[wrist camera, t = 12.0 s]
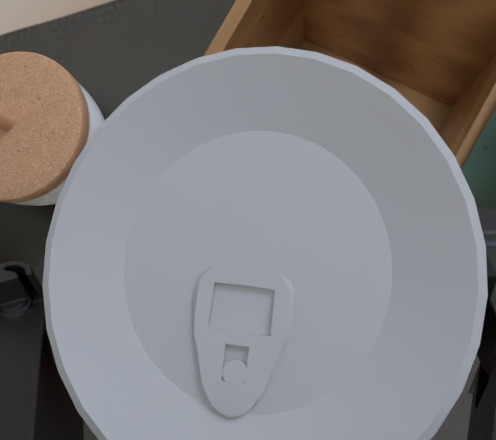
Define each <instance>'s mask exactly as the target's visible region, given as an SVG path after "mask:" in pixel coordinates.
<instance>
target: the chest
mask: <svg viewBox="0 0 496 440" xmlns="http://www.w3.org/2000/svg"><path fill="white" fill-rule="evenodd" d="M272 46H278V47H285V48H292V49H299V50H306V51H313V52H318V53H321V54H324V55H327V56H330V57H333V58H335V59H338V60H341V61H344V62H347V63H349V64H352V65H355V66H358V67H359V68H361V69H363V70H364V71H366V72H368V73H369V74H371V75H373V76H374V77H376V78H378V79H379V80H381V81H383V82H384V83H386V84H388V85H389V86H391V87H393V88H394V89H395V90H396V91H398V92H399V93H400V94H401V95H402V96H403V97H404V98H405V99H406V100H407V101H409V102H410V103H411V104H412V105H413V106H414V107H415V108H416V109H417V110H418V111H419V112H421V113H422V114H423V115H424V116H425V117H426V118H427V119H428V120H429V122H430V123H431V124H432V126H433V127H434V128H435V130H436V131H437V133H438V134H439V135H440V137H441V138H442V139H443V141H444V142H445V144H446V145H447V146H448V148H449V149H450V150H451V152H452V153H453V154H454V156H455V158H456V160H457V162H458V164H459V167H460V169H461V170H462V168H463V166H464V165H465V163H466V161H467V159H468V157H469V156H470V154H471V152H472V150H473V148H474V146H475V145H476V143H477V141H478V139H479V137H480V136H481V134H482V132H483V130H484V128H485V126H486V125H487V123H488V121H489V119H490V117H491V116H492V114H493V112H494V110H495V108H496V0H236V2H235V3H234V5H233V7H232V8H231V10H230V12H229V13H228V15H227V17H226V19H225V20H224V22H223V24H222V25H221V27H220V29H219V31H218V32H217V34H216V36H215V37H214V39H213V41H212V43H211V44H210V46H209V48H208V49H207V51H206V53H205V54H204V56H207V55H211V54H215V53H219V52H223V51H227V50H231V49H235V48H253V47H272Z"/></svg>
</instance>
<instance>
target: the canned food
mask: <svg viewBox="0 0 496 440" xmlns="http://www.w3.org/2000/svg"><path fill="white" fill-rule="evenodd" d="M42 286H43V297H44V308H45V319H46V329H47V333H48V337H49V340H50V344H51V348H52V351H53V355H54V358H55V362H56V366H57V369H58V372H59V374H60V376H61V379H62V381H63V383H64V385H65V387H66V389H67V391H68V393H69V395H70V397H71V399H72V401H73V403H74V405H75V408H76V410H77V412H78V413H79V414H80V416H81V417H82V418H83V420H84V421H85V422H86V424H87V425H88V426H89V428H90V429H91V430H92V432H93V433H94V434H95V436H96V437H97V438H98V440H430V439H431V438H432V437H433V436H434V435H435V434H436V432H437V431H438V429H439V428H440V426H441V424H442V423H443V421H444V420H445V418H446V417H447V415H448V413H449V412H450V410H451V409H452V407H453V406H454V404H455V402H456V401H457V399H458V398H459V396H460V395H461V393H462V391H463V388H464V386H465V383H466V380H467V378H468V375H469V372H470V370H471V367H472V365H473V362H474V359H475V357H476V354H477V351H478V349H479V346H480V341H481V335H482V329H483V322H484V316H485V310H486V304H487V298H488V288H487V262H486V245H485V240H484V236H483V232H482V228H481V224H480V220H479V216H478V211H477V207H476V203H475V199H474V197H473V195H472V192H471V190H470V188H469V186H468V184H467V182H466V180H465V177H464V175H463V173H462V171H461V169H460V167H459V164H458V162H457V160H456V158H455V156H454V154H453V153H452V152H451V150H450V149H449V148H448V146H447V145H446V144H445V142H444V141H443V139H442V138H441V137H440V135H439V134H438V133H437V131H436V130H435V128H434V127H433V126H432V124H431V123H430V122H429V120H428V119H427V118H426V117H425V116H424V115H423V114H422V113H421V112H419V111H418V110H417V109H416V108H415V107H414V106H413V105H412V104H411V103H410V102H409V101H407V100H406V99H405V98H404V97H403V96H402V95H401V94H400V93H399V92H398V91H396V90H395V89H394V88H393V87H391V86H389V85H388V84H386V83H384V82H383V81H381V80H379V79H378V78H376V77H374V76H373V75H371V74H369V73H368V72H366V71H364V70H363V69H361V68H359V67H358V66H355V65H352V64H349V63H347V62H344V61H341V60H338V59H335V58H333V57H330V56H327V55H324V54H321V53H318V52H313V51H306V50H299V49H292V48H285V47H278V46H272V47H253V48H235V49H231V50H227V51H223V52H219V53H215V54H211V55H207V56H203V57H199V58H196V59H194V60H192V61H189V62H187V63H185V64H183V65H181V66H179V67H176V68H174V69H172V70H170V71H168V72H166V73H163V74H161V75H159V76H158V77H156V78H155V79H154V80H152V81H151V82H149V83H148V84H147V85H145V86H144V87H142V88H141V89H140V90H138V91H137V92H135V93H134V94H132V95H131V96H130V97H128V98H127V99H126V100H125V101H124V102H123V103H122V104H121V105H120V106H119V107H118V108H117V109H116V110H115V111H114V112H113V113H112V114H111V115H110V116H109V117H108V118H107V119H106V120H105V121H104V122H103V123H102V124H101V125H100V126H99V127H98V128H97V130H96V131H95V133H94V134H93V136H92V137H91V139H90V140H89V142H88V143H87V145H86V146H85V147H84V149H83V150H82V152H81V153H80V155H79V156H78V158H77V159H76V161H75V162H74V164H73V166H72V168H71V171H70V173H69V175H68V177H67V179H66V182H65V184H64V186H63V188H62V190H61V193H60V195H59V197H58V199H57V202H56V206H55V210H54V213H53V217H52V221H51V225H50V229H49V233H48V236H47V240H46V248H45V260H44V272H43V284H42Z"/></svg>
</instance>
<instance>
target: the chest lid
mask: <svg viewBox="0 0 496 440" xmlns="http://www.w3.org/2000/svg"><path fill="white" fill-rule="evenodd" d="M461 171H462V173H463V175H464V177H465V180H466V182H467V184H468V186H469V188H470V190H471V192H472V195H473V197H474V199H475V203H476V205H488V206H489V207H491V208H492V209H493V210H495V211H496V108H495V110H494V112H493V114H492V116H491V117H490V119H489V121H488V123H487V125H486V126H485V128H484V130H483V132H482V134H481V136H480V137H479V139H478V141H477V143H476V145H475V146H474V148H473V150H472V152H471V154H470V156H469V157H468V159H467V161H466V163H465V165H464V166H463V168H462V170H461Z"/></svg>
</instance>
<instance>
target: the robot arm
mask: <svg viewBox="0 0 496 440" xmlns="http://www.w3.org/2000/svg"><path fill="white" fill-rule="evenodd" d="M476 207H477V211H478V216H479V220H480V224H481V228H482V232H483V236H484V240H485V245H486V262H487V288H488V298H487V304H486V310H485V316H484V322H483V329H482V335H481V341H480V346H479V349H478V351H477V355H478V358H479V360H480V365H479V367H478V370H477V372H476V375H475V377H474V380H473V383H472V385H471V388H470V390H469V393H471V394H473V399H472V407H471V415H470V422H469V430H468V437H467V440H496V211H495V210H493V209H492V208H491V207H489V206H488V205H476ZM44 260H45V258H44V259H43V261H42V262H41V264H40V265H39V267H38V268H37V269H36V271H35V272H33V270H32V268H31V266H29V265H28V264H27V263H25V262H21V261H10V262H4V263H1V264H0V440H83V418H82V417H81V416H80V414H79V413H78V412H77V410H76V408H75V405H74V403H73V401H72V399H71V397H70V395H69V393H68V391H67V389H66V387H65V385H64V383H63V381H62V379H61V376H60V374H59V372H58V369H57V366H56V362H55V358H54V355H53V351H52V348H51V344H50V340H49V337H48V333H47V329H46V319H45V308H44V297H43V286H42V284H43V272H44Z"/></svg>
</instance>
